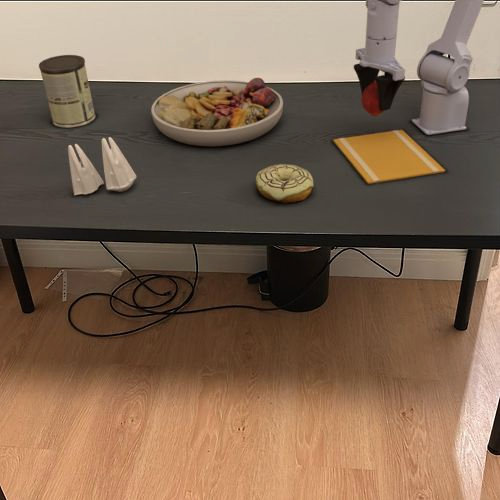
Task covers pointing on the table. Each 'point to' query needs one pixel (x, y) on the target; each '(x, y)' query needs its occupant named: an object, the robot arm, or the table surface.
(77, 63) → the coffee can
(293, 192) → the decorated donut
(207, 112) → the bowl
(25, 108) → the table surface
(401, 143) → the towel
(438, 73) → the robot arm
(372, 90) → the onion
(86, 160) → the shaker set
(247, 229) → the table surface
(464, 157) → the table surface
